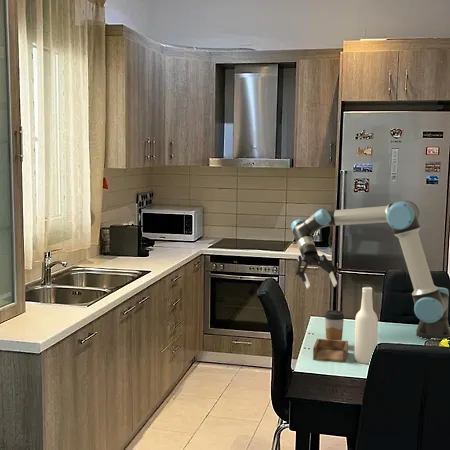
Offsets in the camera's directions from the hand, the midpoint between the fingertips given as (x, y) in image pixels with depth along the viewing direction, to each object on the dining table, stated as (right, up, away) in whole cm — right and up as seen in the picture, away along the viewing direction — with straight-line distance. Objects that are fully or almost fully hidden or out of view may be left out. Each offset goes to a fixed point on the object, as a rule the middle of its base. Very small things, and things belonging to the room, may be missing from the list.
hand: (322, 286), depth 266 cm
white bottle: (+13, -28, -27) cm, 41 cm away
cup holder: (0, -27, -21) cm, 34 cm away
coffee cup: (+4, -26, -7) cm, 27 cm away
